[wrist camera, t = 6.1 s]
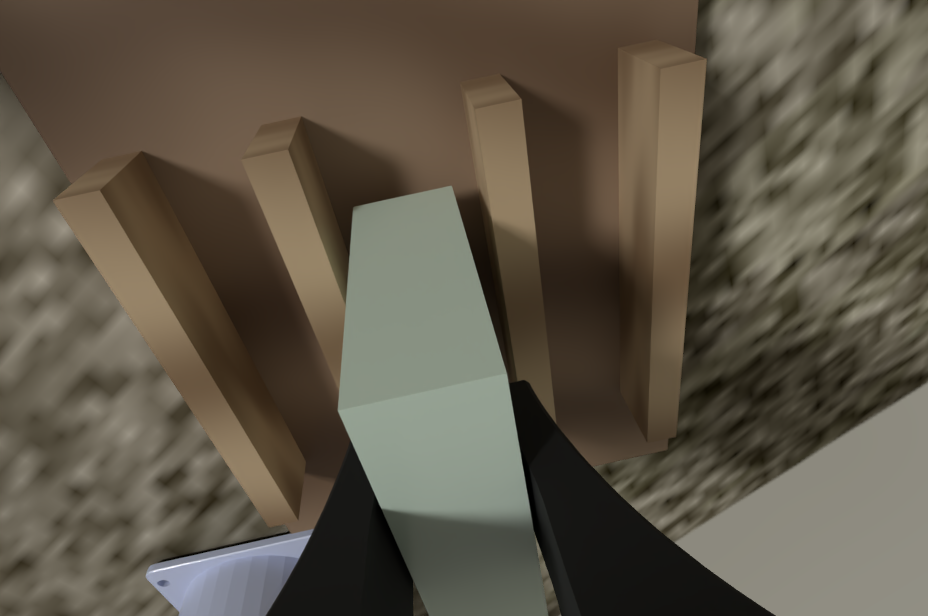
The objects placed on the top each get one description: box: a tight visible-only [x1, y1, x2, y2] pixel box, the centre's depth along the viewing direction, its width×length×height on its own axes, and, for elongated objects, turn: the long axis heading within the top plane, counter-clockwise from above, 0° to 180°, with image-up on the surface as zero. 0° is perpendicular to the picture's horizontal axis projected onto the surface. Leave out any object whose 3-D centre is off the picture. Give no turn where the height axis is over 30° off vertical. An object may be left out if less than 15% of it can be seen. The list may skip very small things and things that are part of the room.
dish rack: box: [0, 0, 707, 534], centre depth 16 cm, size 20×16×4 cm
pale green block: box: [338, 186, 548, 616], centre depth 13 cm, size 8×2×7 cm, turn 10°
